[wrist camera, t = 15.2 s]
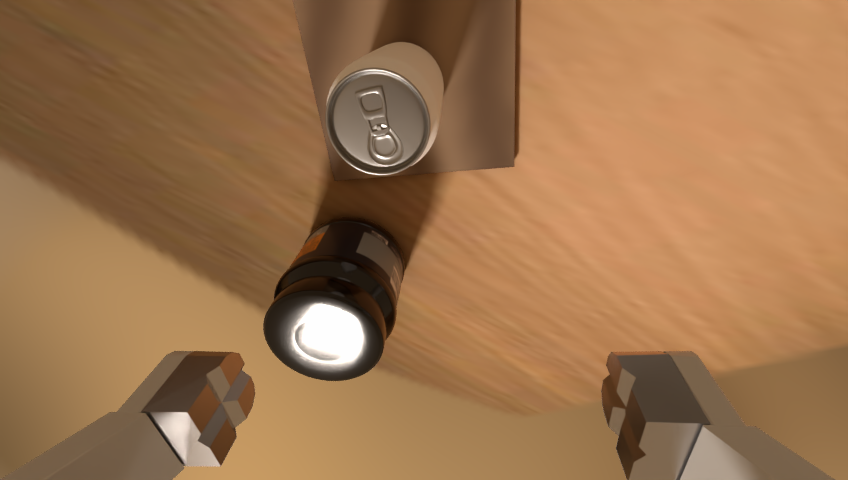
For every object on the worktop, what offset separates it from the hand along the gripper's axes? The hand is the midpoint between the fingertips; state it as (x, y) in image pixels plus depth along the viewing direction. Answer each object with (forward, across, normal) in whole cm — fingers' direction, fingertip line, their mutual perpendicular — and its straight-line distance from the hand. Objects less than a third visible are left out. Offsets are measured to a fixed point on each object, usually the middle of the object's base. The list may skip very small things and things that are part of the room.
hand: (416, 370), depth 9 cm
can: (+27, +4, -2) cm, 27 cm away
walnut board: (+28, +3, -3) cm, 28 cm away
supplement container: (+28, +11, +14) cm, 33 cm away
